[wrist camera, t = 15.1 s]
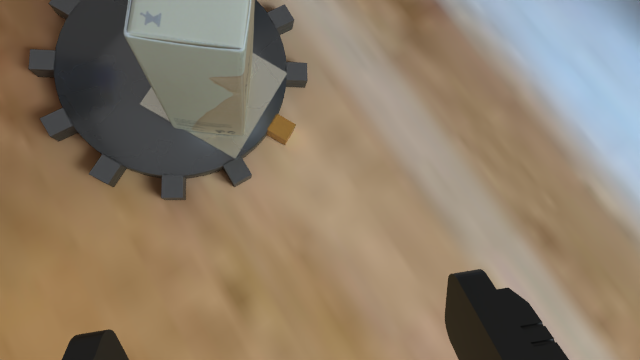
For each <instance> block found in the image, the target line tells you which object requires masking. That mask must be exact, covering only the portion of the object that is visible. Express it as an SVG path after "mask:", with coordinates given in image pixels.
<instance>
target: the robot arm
mask: <svg viewBox="0 0 640 360" xmlns="http://www.w3.org/2000/svg"><path fill="white" fill-rule="evenodd" d="M445 324H446V329H447V333H448V336H449V339H450V342H451V344H452V346H453V348H454V350H455V353H456V355H457V357H458V359H459V360H569V359H568V358H567V356H566V355H565V354H564V352H563V351H562V349H561V348H560V346H559V345H558V344H557V343H555V342H554V338H553V337H552V335H551V334H550V332H549V331H548V330H547V328H546V327H545V326H543V324H542V321H541V320H540V318H539V317H538V315H537V314H536V313H535V311H534V310H533V308H532V307H531V306H530V304H529V303H528V302H527V301H525V300H524V299H523V298H521V297H520V296H519V295H517V294H516V293H515V292H513V291H512V290H511V289H509V288H503V289H497V290H496V288H495V287H494V285H493V283H492V282H491V280H490V279H489V277H488V276H487V274H486V273H485V272H484V271H483V270H481V269H478V270H472V271H466V272H460V273H454V274H450V275H449V278H448V286H447V297H446V308H445ZM62 360H129V359H128V357H127V355H126V353H125V351H124V349H123V347H122V346H121V344H120V342H119V340H118V338H117V336H116V334H115V333H114V332H113V331H112V330H103V331H97V332H91V333H85V334H79V335H76V336H74V337H73V338H72V339H71V341H70V342H69V344H68V347H67V349H66V351H65V354H64V356H63V358H62Z"/></svg>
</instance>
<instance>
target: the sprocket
mask: <svg viewBox="0 0 640 360" xmlns="http://www.w3.org/2000/svg"><path fill="white" fill-rule="evenodd" d="M49 5H50V6H51V7H52V8H53V10H54V11H55V12H56V13H57V14H58V15H60V16H61V17H63V18H65V19H66V21H65V23H64V26H63V28H62V30H61V32H60V35H59V38H58V41H57V45H56V50H36V49H30V58H29V70H31V71H32V72H33V73H34V74H35V75H37V76H38V77H52V78H55V84H56V90H57V93H58V96H59V100H60V103H61V105H62V107H63V108H61V109H59V110H57V111H55V112H53V113H50V114H48V115H46V116H44V117H42V118H40V120H41V121H42V123H43V125H44V127H45V128H46V130H47V132H48V134H49V135H50V137H52V138H54V139H55V140H57V141H61V140H63V139H65V138H67V137H69V136H71V135H74V134H76V133H79V134H80V135H81V136H82V137H83V138H84V139H85V140H86V141H87V142H88V143H89V144H90V145H91V146H92V147H94V148H95V149H96V150H97V151H98V152H100V153H101V154H102V155H101V157H100V158H99V160H98V161H97V163H96V164H95V166H94V167H93V168H92V170H91V171H90V173H89V174H90V175H92V176H93V177H95V178H97V179H99V180H101V181H103V182H104V183H106V184H108V185H110V186H112V187H114V186H115V185H116V183H117V182H118V180H119V179H120V177H121V176H122V175H123V173H124V172H125V170H126V169H129V170H132V171H135V172H138V173H141V174H144V175H148V176H153V177H158V178H162V190H161V198H162V199H164V200H186V178H194V177H199V176H204V175H208V174H211V173H214V172H217V171H220V170H222V169H224V170H225V172H226V174H227V175H228V177H229V179H230V180H231V182H232V184H233V186H234V187H236V186H237V185H239V184H241V183H243V182H245V181H246V180H248V179H250V178H251V176H252V174H251V173H250V171H249V169H248V168H247V166H246V164H245V163H244V161H243V159H242V158H244V157H245V156H246V155H248V154H249V153H250V152H251V151H252V150H254V149H255V148H256V147H257V146H258V145H259V143H260V142H261V141H262V140H263V139H264V138H265V137H266V135H268V136H270V137H271V138H273V139H275V140H277V141H278V142H280V143H282V144H284V145H285V144H286V142H287V141H288V139H289V137H290V135H291V134H292V132H293V130H294V128H295V126H296V124H294V123H292V122H290V121H289V120H287V119H285V118H284V117H282V116H280V115H278V114H279V111H280V108H281V105H282V102H283V98H284V93H285V88H286V87H304V88H305V86H306V83H307V63H297V62H286V56H285V52H284V47H283V43H282V41H281V38H280V35H281V34H283V33H285V32H287V31H289V30H291V29H292V27H293V23H294V19H293V17H292V16H291V14H290V12H289V11H288V9H287V7H286V6H285V5H282V6H280V7H278V8H276V9H274V10H272V11H270V12H266V11H265V9H264V8H263V7H262V6H261V5H260V4H259V3H258V1H257V0H255V8H254V34H253V56H252V69H251V79H250V89H249V98H248V107H247V115H246V123H245V131H244V134H243V135H242V136H237V135H225V134H214V133H206V132H198V131H191V130H184V129H177V128H174V127H173V126H172V124H171V122H170V121H169V119H168V117H167V115H166V113H165V111H164V109H163V107H162V106H161V104H160V102H159V100H158V98H157V97H156V95H155V93H154V91H153V89H152V87H151V85H150V83H149V82H148V80H147V78H146V76H145V74H144V72H143V70H142V68H141V66H140V64H139V63H138V61H137V59H136V57H135V55H134V53H133V51H132V50H131V48H130V46H129V44H128V42H127V40H126V38H125V36H124V26H125V18H126V11H127V5H128V0H51V1H50V2H49Z"/></svg>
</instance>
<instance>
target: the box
mask: <svg viewBox="0 0 640 360" xmlns="http://www.w3.org/2000/svg"><path fill="white" fill-rule="evenodd" d="M254 8H255V0H128V5H127V11H126V18H125V26H124V36H125V38H126V40H127V42H128V44H129V46H130V48H131V50H132V51H133V53H134V55H135V57H136V59H137V61H138V63H139V64H140V66H141V68H142V70H143V72H144V74H145V76H146V78H147V80H148V82H149V83H150V85H151V87H152V89H153V91H154V93H155V95H156V97H157V98H158V100H159V102H160V104H161V106H162V107H163V109H164V111H165V113H166V115H167V117H168V119H169V121H170V122H171V124H172V126H173V127H174V128H177V129H184V130H191V131H198V132H206V133H214V134H225V135H237V136H242V135H243V134H244V131H245V123H246V115H247V107H248V98H249V89H250V79H251V69H252V56H253V34H254Z"/></svg>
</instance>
